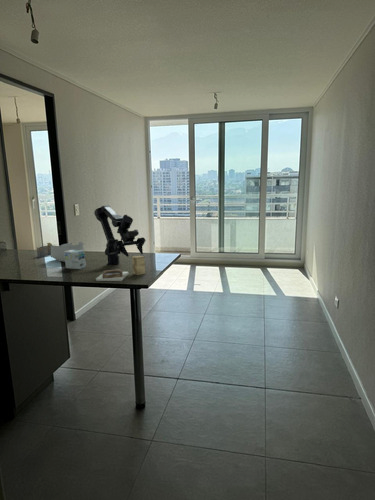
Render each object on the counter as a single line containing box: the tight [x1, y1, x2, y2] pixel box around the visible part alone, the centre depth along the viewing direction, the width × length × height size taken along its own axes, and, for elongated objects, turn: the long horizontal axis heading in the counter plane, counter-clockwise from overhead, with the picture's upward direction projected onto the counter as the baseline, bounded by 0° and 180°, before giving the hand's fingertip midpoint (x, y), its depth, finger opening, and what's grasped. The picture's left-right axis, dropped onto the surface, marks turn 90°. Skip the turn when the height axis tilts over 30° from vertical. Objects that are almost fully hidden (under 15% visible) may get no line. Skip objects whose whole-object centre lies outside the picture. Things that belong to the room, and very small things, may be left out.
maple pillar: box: [131, 254, 146, 276], centre depth 186 cm, size 5×5×10 cm
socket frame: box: [102, 269, 123, 278], centre depth 181 cm, size 10×10×2 cm
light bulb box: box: [64, 249, 87, 270], centre depth 204 cm, size 11×7×11 cm, turn 71°
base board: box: [95, 271, 130, 282], centre depth 181 cm, size 14×14×1 cm
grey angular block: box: [50, 241, 85, 263], centre depth 226 cm, size 20×19×12 cm
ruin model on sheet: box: [36, 242, 54, 258], centre depth 243 cm, size 11×3×10 cm, turn 149°
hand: (135, 255), depth 188 cm, fingers open, 9 cm apart
